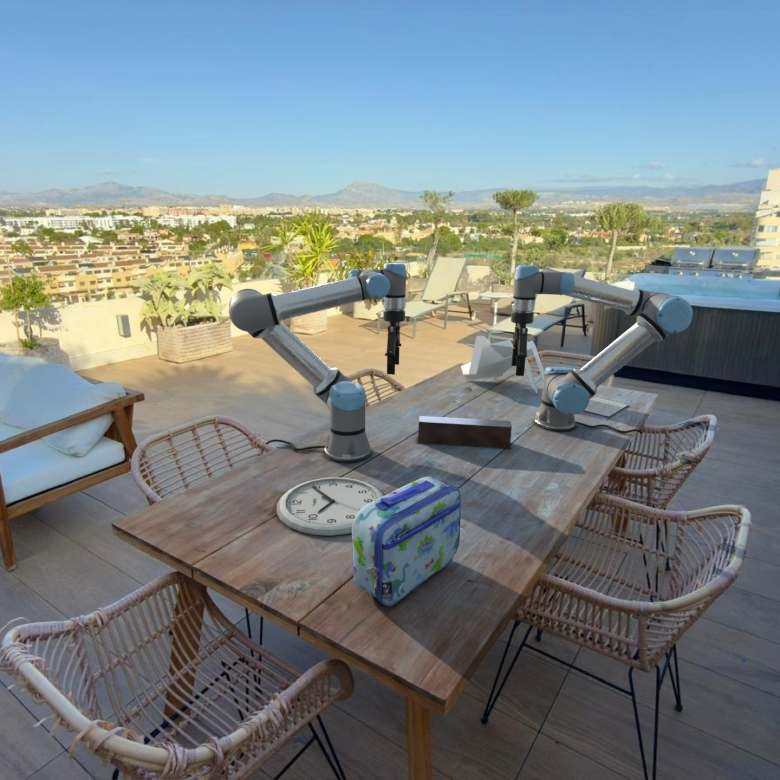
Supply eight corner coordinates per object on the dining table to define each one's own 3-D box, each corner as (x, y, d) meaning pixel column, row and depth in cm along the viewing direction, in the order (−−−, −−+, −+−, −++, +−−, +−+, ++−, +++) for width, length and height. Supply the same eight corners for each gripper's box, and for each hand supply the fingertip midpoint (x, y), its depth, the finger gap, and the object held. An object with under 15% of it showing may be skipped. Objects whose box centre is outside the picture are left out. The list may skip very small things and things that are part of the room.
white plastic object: (482, 422, 260) (461, 399, 236) (463, 348, 283) (442, 320, 258) (555, 398, 248) (541, 371, 224) (529, 323, 270) (514, 291, 246)
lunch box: (381, 619, 101) (382, 525, 95) (345, 592, 109) (344, 503, 102) (464, 563, 119) (469, 480, 113) (428, 543, 126) (432, 464, 120)
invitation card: (608, 416, 214) (573, 407, 224) (608, 416, 214) (573, 408, 224) (628, 404, 229) (594, 396, 238) (628, 405, 229) (594, 397, 238)
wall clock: (392, 527, 129) (268, 531, 127) (391, 533, 130) (269, 537, 127) (383, 473, 158) (282, 475, 155) (383, 478, 158) (282, 480, 156)
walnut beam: (508, 441, 187) (510, 421, 185) (509, 448, 182) (511, 427, 179) (419, 436, 191) (419, 415, 189) (417, 442, 185) (418, 421, 183)
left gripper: (388, 303, 191) (387, 360, 198) (378, 314, 168) (377, 378, 174) (408, 304, 191) (406, 361, 197) (401, 315, 167) (400, 379, 173)
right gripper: (508, 305, 192) (503, 361, 199) (515, 316, 169) (510, 379, 175) (529, 306, 192) (523, 362, 198) (539, 317, 168) (533, 380, 174)
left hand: (393, 369), depth 186 cm, fingers open, 13 cm apart
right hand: (517, 370), depth 186 cm, fingers open, 13 cm apart
